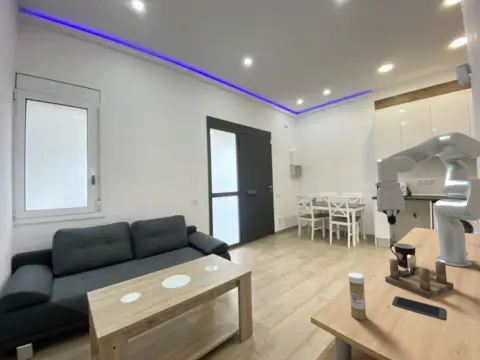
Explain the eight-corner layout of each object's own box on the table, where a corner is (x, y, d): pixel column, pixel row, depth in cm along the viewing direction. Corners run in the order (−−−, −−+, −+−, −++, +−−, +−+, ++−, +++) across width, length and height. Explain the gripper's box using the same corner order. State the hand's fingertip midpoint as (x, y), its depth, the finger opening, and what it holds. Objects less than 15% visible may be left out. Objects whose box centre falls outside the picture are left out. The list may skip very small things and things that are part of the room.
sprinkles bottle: (349, 317, 71) (346, 275, 72) (352, 310, 75) (350, 271, 75) (365, 322, 69) (362, 279, 69) (368, 314, 72) (365, 274, 72)
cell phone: (445, 322, 67) (445, 319, 67) (391, 306, 77) (391, 304, 77) (446, 310, 72) (445, 308, 72) (395, 297, 82) (395, 295, 82)
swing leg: (411, 270, 98) (410, 254, 98) (418, 272, 95) (417, 256, 95) (395, 274, 95) (393, 257, 95) (402, 277, 92) (400, 260, 92)
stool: (408, 273, 100) (407, 252, 100) (453, 288, 85) (451, 263, 85) (385, 281, 94) (383, 259, 94) (429, 299, 79) (427, 272, 79)
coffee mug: (421, 269, 103) (419, 248, 103) (400, 269, 105) (399, 248, 105) (407, 260, 115) (406, 241, 115) (389, 260, 116) (388, 241, 116)
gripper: (371, 186, 101) (375, 226, 100) (410, 184, 95) (414, 225, 95) (368, 185, 107) (372, 222, 107) (405, 183, 102) (408, 222, 102)
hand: (392, 224), depth 101 cm, fingers closed
